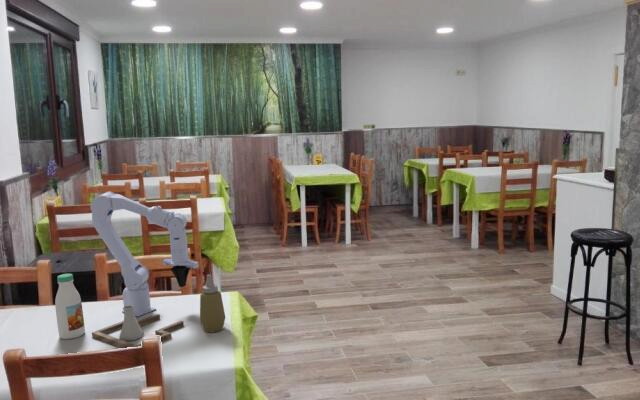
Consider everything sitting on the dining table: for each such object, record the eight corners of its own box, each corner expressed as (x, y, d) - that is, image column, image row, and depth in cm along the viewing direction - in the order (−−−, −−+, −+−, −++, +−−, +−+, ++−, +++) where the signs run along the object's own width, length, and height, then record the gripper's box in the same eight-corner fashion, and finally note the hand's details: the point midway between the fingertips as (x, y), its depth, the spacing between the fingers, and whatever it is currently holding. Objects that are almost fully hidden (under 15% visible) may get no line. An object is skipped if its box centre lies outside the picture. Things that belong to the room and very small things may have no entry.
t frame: (92, 337, 177) (91, 332, 176) (149, 315, 193) (148, 311, 193) (135, 353, 163) (135, 348, 163) (192, 328, 180) (192, 324, 179)
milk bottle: (59, 341, 174) (51, 280, 171) (58, 333, 181) (51, 274, 178) (86, 336, 177) (79, 275, 174) (84, 328, 184) (77, 270, 181)
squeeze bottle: (202, 325, 182) (197, 272, 179) (227, 323, 182) (223, 270, 180) (199, 335, 174) (194, 279, 171) (225, 333, 174) (220, 277, 172)
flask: (135, 342, 171) (132, 311, 169) (114, 341, 172) (111, 310, 171) (147, 333, 178) (144, 303, 176) (127, 332, 179) (124, 302, 178)
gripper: (155, 250, 195) (159, 287, 197) (187, 253, 189) (191, 291, 191) (169, 245, 201) (172, 281, 203) (201, 248, 195) (204, 285, 197)
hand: (182, 286), depth 197 cm, fingers closed
